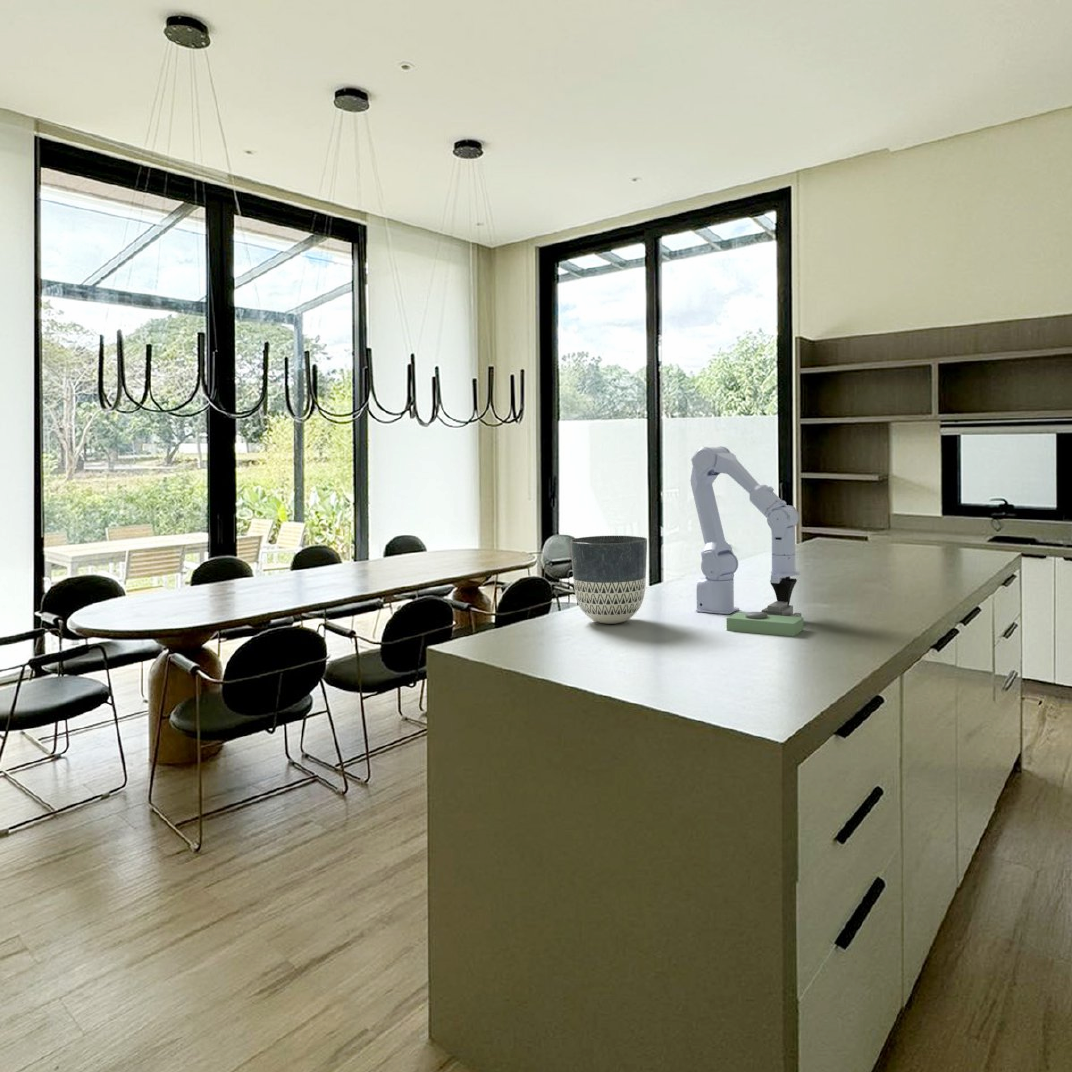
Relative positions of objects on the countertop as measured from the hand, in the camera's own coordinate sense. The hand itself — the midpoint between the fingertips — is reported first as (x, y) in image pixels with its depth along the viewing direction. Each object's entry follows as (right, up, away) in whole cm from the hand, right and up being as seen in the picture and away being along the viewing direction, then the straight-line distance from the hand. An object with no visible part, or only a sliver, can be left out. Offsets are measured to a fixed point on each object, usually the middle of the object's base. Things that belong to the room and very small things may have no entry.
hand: (783, 607), depth 210 cm
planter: (-44, -4, +3) cm, 44 cm away
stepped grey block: (-3, -4, -4) cm, 6 cm away
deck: (-5, -4, -8) cm, 10 cm away
